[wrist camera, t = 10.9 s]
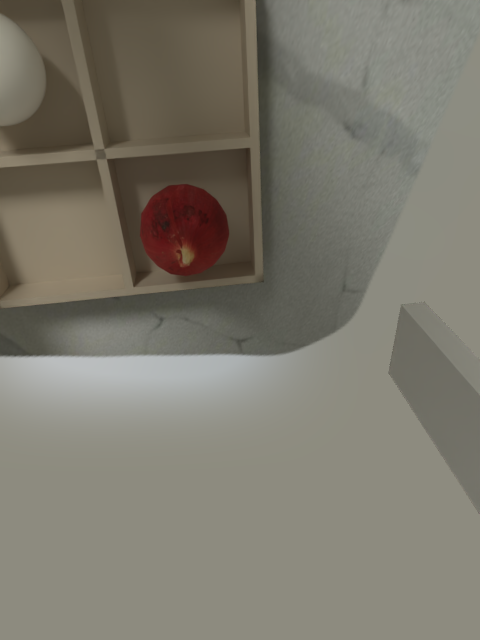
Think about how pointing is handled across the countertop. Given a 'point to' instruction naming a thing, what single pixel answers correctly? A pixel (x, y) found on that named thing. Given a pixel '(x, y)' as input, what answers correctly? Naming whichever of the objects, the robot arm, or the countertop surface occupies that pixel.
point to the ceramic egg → (19, 74)
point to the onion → (184, 229)
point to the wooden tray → (128, 144)
